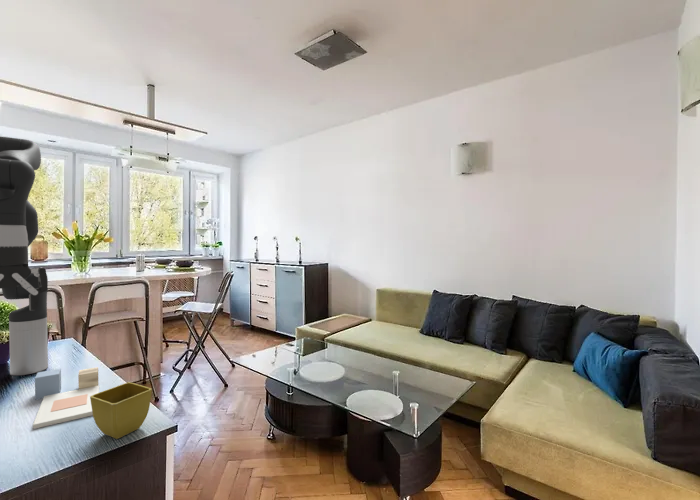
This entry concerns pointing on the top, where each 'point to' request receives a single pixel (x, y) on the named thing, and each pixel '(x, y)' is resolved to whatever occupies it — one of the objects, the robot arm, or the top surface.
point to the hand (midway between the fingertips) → (7, 313)
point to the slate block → (47, 383)
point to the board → (65, 407)
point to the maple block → (88, 378)
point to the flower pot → (121, 409)
